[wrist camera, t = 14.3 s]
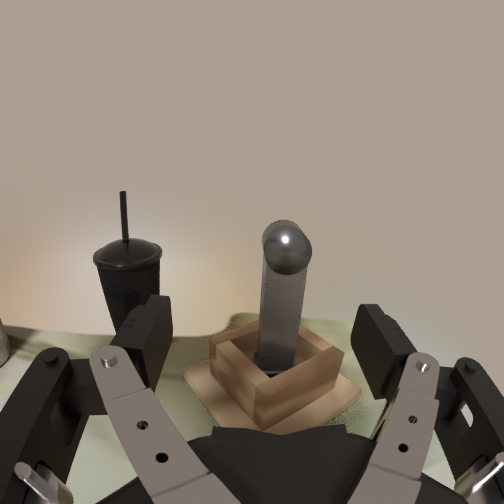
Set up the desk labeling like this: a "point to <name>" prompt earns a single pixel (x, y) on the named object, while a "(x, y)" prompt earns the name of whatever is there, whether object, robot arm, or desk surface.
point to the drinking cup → (127, 271)
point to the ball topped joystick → (281, 295)
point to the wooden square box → (271, 383)
